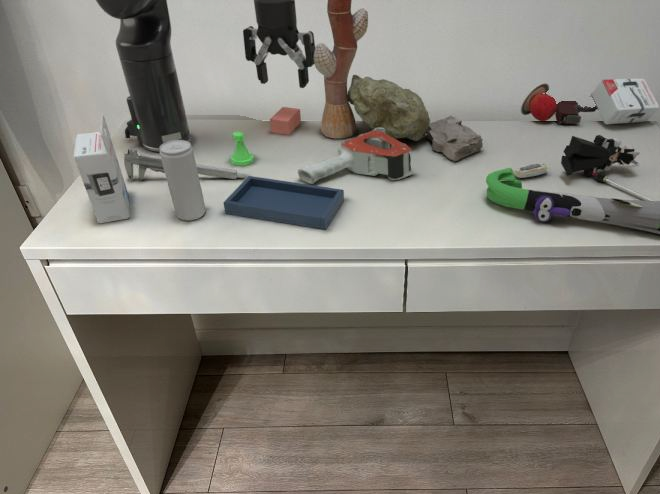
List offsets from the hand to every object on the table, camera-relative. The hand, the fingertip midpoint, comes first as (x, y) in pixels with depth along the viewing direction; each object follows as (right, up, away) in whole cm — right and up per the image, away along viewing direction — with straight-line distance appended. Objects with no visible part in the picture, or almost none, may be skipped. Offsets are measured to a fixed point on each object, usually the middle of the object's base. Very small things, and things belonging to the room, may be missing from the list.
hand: (283, 84), depth 112 cm
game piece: (-7, -17, -6) cm, 19 cm away
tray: (+4, -28, -19) cm, 34 cm away
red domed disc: (+54, +1, +11) cm, 55 cm away
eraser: (-1, -7, +6) cm, 9 cm away
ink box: (+68, -1, +7) cm, 68 cm away
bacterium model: (+47, -22, -12) cm, 53 cm away
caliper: (-15, -22, -12) cm, 29 cm away
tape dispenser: (+16, -19, -8) cm, 26 cm away
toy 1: (+67, -29, -23) cm, 77 cm away
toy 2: (+55, -22, -17) cm, 61 cm away
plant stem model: (+12, -8, +5) cm, 15 cm away
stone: (+35, -12, +1) cm, 37 cm away
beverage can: (-11, -29, -21) cm, 38 cm away
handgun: (+71, -5, +9) cm, 72 cm away
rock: (+29, -2, +2) cm, 29 cm away
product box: (-25, -28, -20) cm, 43 cm away
